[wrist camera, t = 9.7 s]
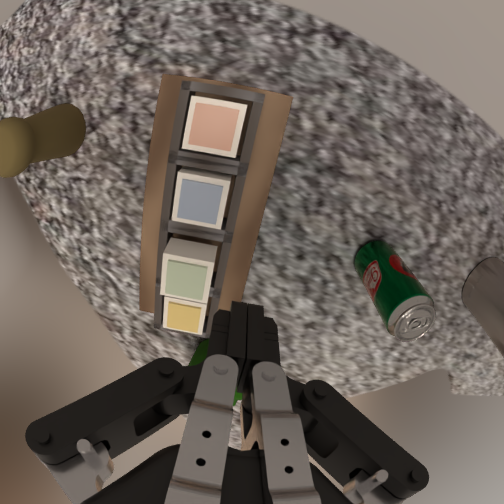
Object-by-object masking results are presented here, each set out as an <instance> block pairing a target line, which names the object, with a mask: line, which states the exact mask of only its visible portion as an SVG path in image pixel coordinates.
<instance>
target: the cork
mask: <svg viewBox="0 0 504 504" xmlns="http://www.w3.org/2000/svg"><path fill="white" fill-rule="evenodd" d="M85 132H86V126H85V120H84V117H83V114H82V113H81V111H80V110H79V109H78V108H77V107H75V106H74V105H72V104H67V103H65V104H60V105H57V106H54V107H52V108H49V109H46V110H44V111H41V112H39V113H37V114H34V115H32V116H30V117H27V118H25V119H23V118H18V117H9V118H6V119H3V120H1V121H0V176H1V177H4V178H7V177H15V176H16V175H18V174H20V173H21V172H23V171H24V170H25V169H26V168H27V167H28V166H29V164H30V163H35V162H40V161H45V160H50V159H55V158H60V157H66V156H70V155H71V154H73V153H75V152H76V151H77V150H78V149H79V148H80V146H81V144H82V142H83V141H84V137H85Z"/></svg>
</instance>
